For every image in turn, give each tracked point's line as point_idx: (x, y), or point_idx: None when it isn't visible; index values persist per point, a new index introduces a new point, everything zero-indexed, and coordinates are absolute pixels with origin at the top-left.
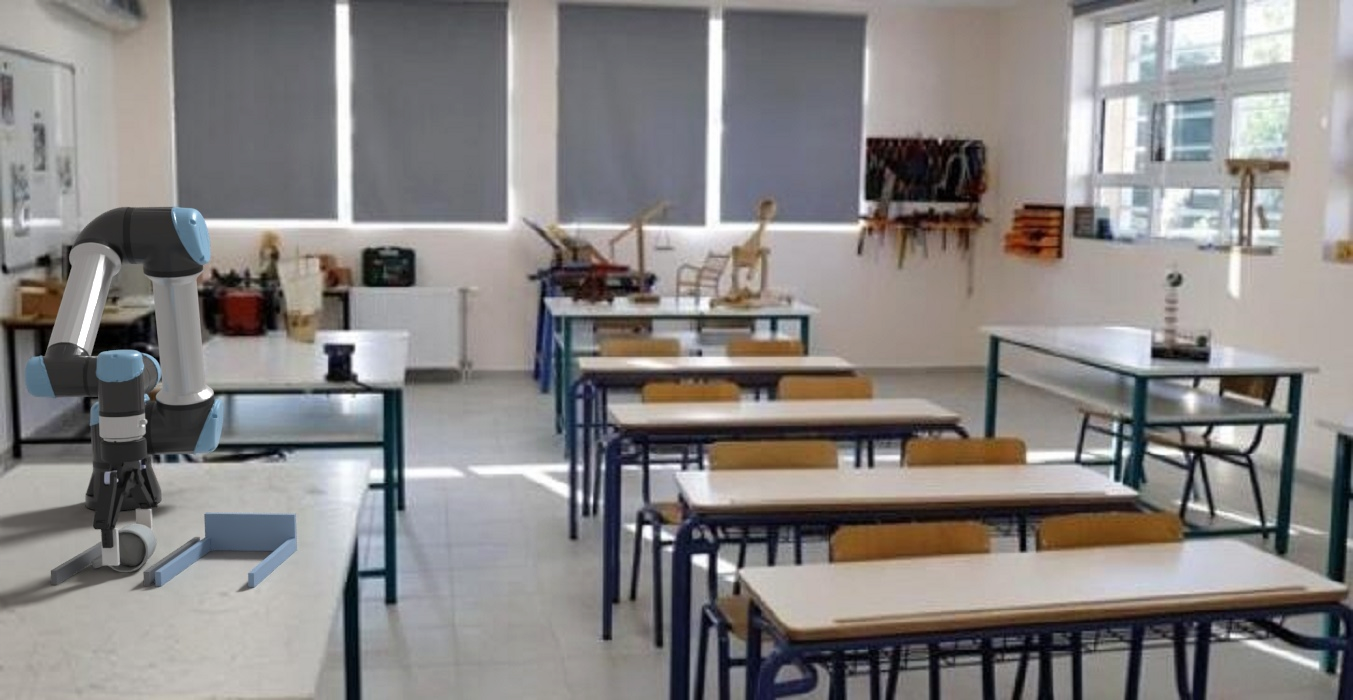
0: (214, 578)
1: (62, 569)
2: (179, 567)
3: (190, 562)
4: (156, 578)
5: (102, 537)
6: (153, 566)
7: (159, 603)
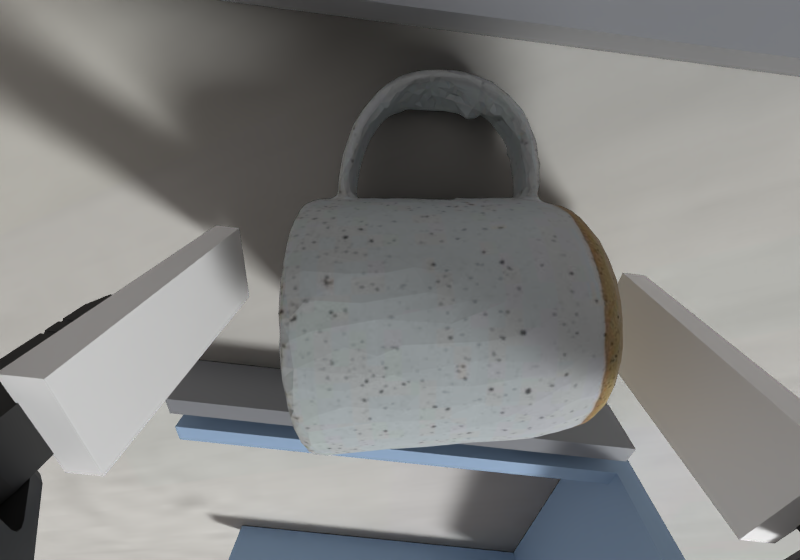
0: (297, 477)
1: None
2: None
3: None
4: None
5: (25, 350)
6: (234, 411)
7: None
